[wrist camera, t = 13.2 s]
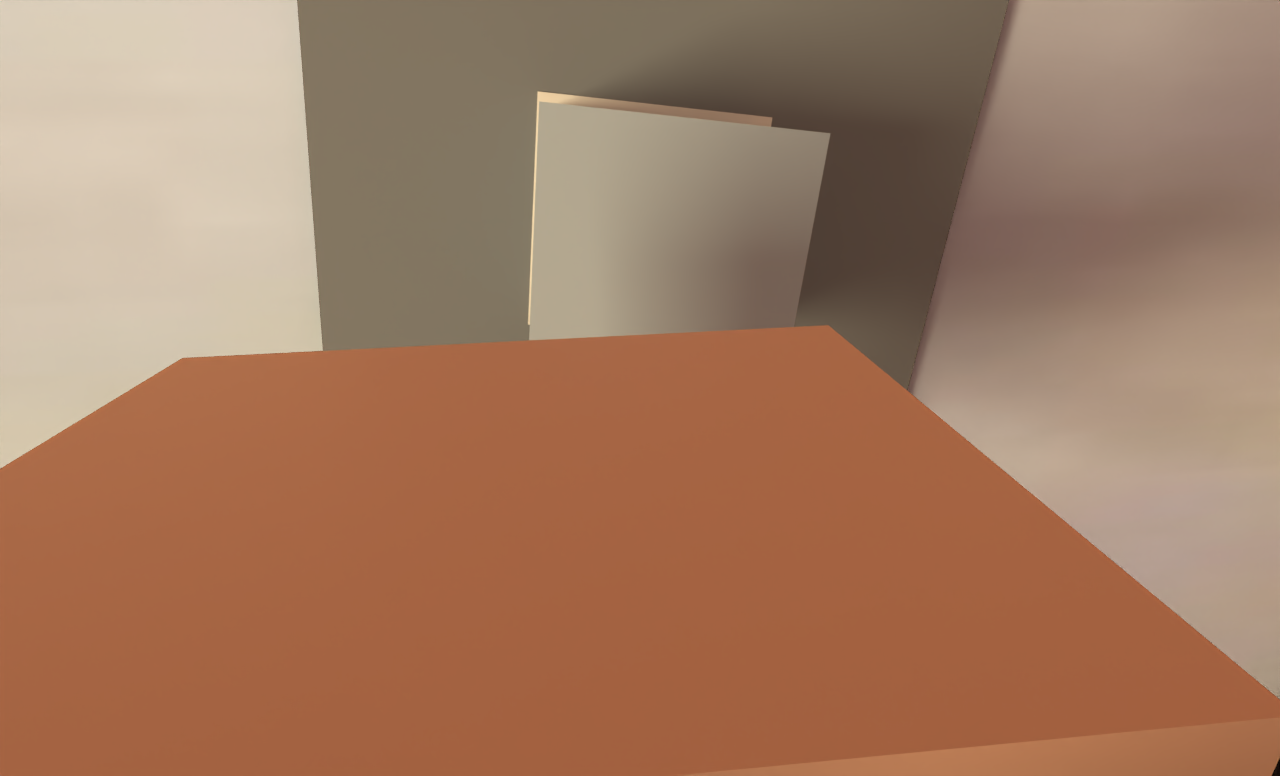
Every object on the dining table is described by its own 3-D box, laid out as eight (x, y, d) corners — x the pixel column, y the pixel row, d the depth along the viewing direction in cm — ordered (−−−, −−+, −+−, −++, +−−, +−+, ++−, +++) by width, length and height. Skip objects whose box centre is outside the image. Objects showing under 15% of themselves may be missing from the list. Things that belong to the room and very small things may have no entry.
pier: (728, 328, 18) (780, 399, 13) (540, 314, 18) (526, 384, 13) (758, 129, 16) (830, 133, 12) (550, 107, 16) (539, 100, 11)
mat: (830, 652, 23) (836, 664, 23) (350, 645, 22) (344, 658, 21) (998, -3, 16) (1012, -6, 16) (298, -99, 14) (288, -107, 14)
